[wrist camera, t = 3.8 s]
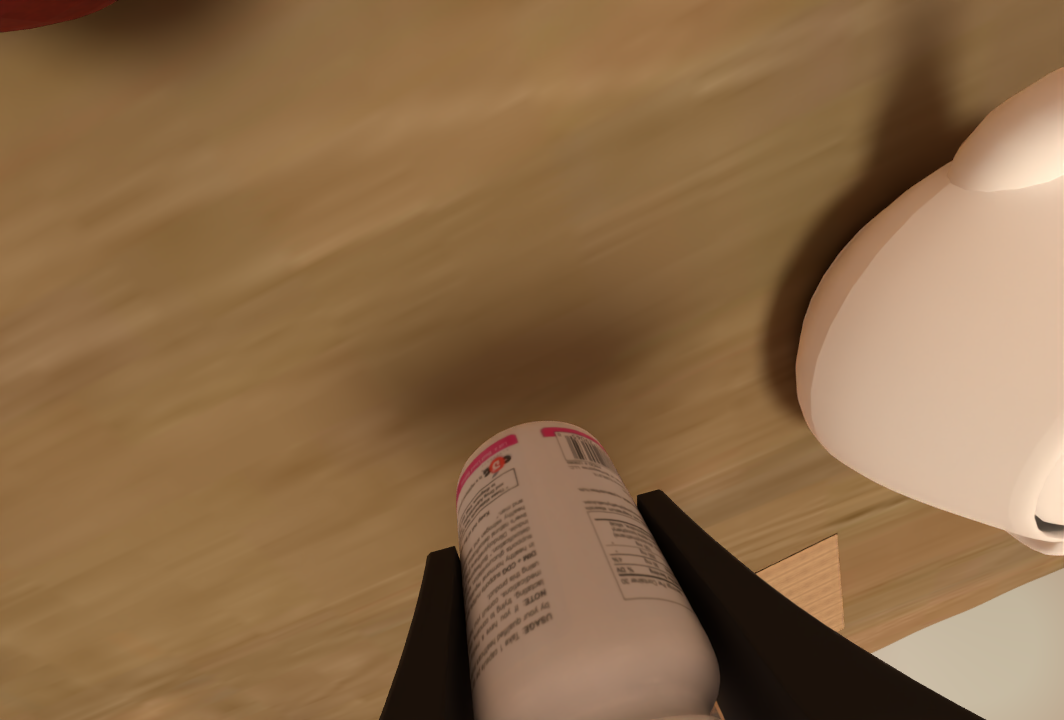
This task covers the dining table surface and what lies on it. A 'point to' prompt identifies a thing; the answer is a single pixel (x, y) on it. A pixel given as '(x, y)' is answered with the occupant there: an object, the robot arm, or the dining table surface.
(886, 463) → the teapot
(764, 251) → the dining table surface
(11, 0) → the apple
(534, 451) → the pill bottle
